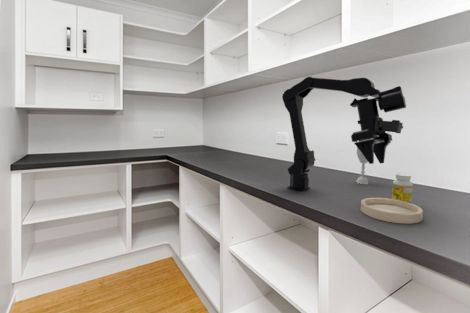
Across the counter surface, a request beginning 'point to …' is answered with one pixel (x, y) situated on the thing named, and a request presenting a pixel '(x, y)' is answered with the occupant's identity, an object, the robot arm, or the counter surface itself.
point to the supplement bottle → (402, 188)
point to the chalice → (362, 160)
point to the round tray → (391, 210)
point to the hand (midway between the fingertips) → (377, 163)
